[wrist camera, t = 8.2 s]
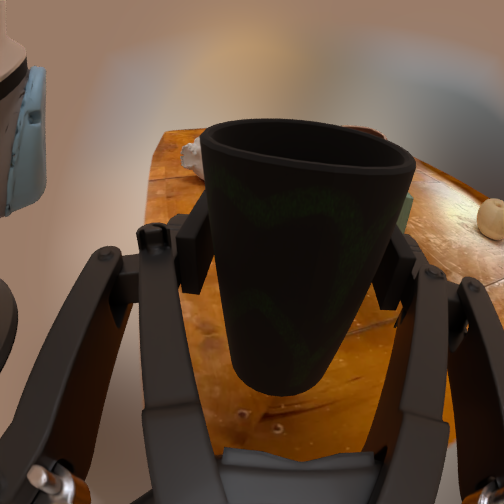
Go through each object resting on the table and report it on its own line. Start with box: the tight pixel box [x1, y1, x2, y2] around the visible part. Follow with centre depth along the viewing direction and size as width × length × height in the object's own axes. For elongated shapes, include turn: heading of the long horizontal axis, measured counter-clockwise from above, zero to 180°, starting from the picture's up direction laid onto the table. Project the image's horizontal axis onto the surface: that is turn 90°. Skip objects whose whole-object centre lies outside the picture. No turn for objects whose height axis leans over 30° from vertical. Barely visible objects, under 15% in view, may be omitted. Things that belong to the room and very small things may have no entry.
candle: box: [180, 137, 204, 180], centre depth 55 cm, size 9×11×15 cm
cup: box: [199, 119, 416, 397], centre depth 13 cm, size 8×8×12 cm
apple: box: [477, 199, 504, 240], centre depth 43 cm, size 8×8×8 cm
